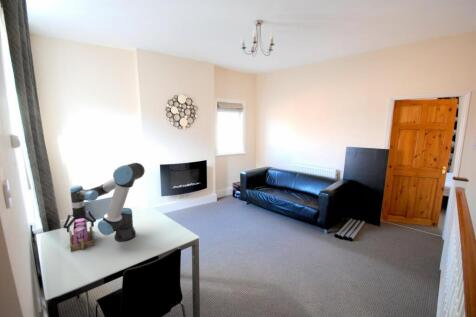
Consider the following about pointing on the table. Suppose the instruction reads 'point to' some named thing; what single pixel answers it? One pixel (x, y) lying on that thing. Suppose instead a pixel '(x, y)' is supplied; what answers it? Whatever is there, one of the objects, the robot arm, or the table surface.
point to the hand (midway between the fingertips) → (81, 233)
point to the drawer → (82, 242)
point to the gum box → (80, 230)
